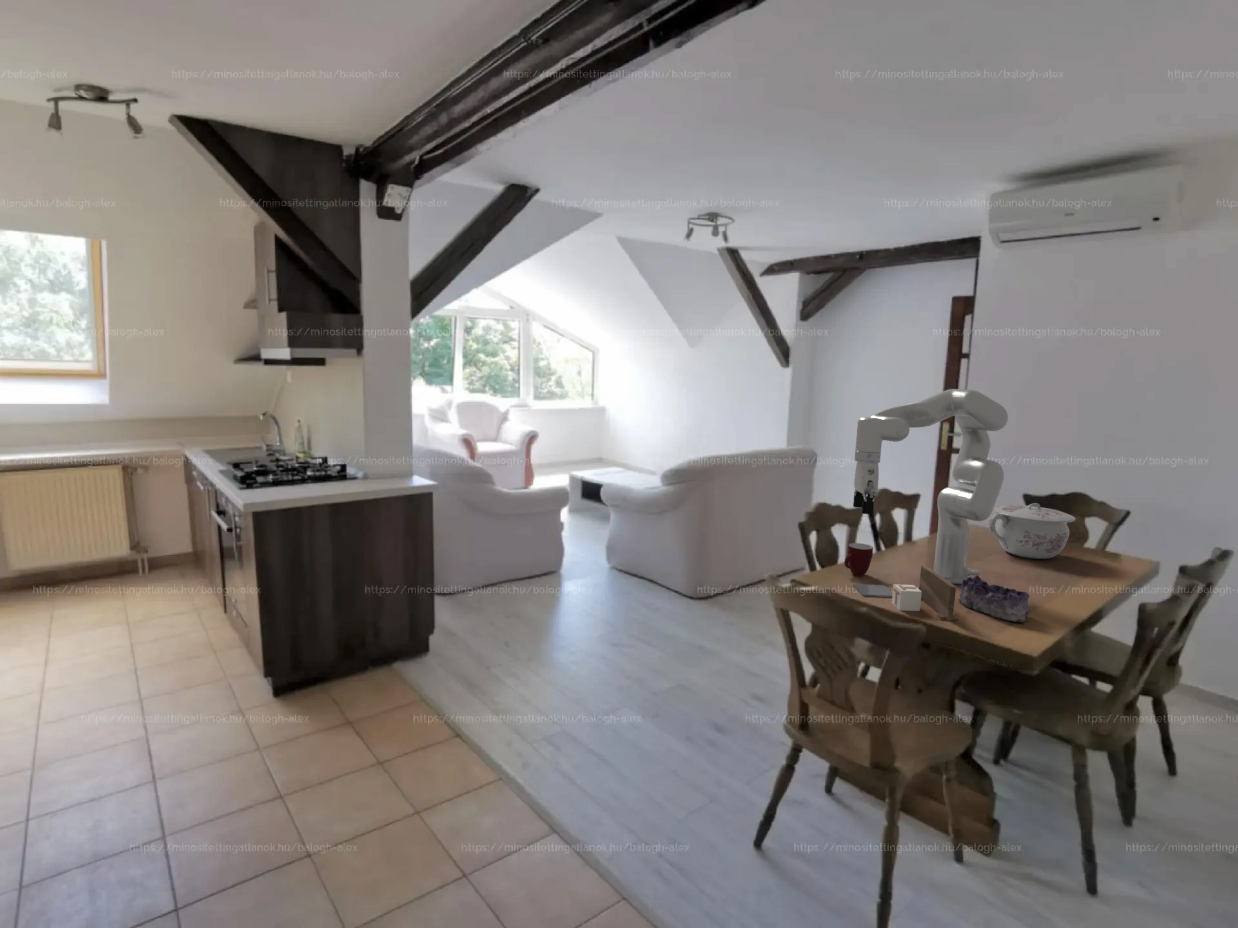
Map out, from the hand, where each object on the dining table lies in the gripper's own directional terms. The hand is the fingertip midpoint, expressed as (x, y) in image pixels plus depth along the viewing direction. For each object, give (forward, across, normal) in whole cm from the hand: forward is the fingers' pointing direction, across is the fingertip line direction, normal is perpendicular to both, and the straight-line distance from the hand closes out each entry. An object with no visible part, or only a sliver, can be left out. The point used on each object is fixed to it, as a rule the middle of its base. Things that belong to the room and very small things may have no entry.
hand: (862, 510), depth 212 cm
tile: (+26, -2, -5) cm, 26 cm away
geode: (+26, -15, -36) cm, 47 cm away
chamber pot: (+26, +54, -81) cm, 101 cm away
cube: (+26, -15, -11) cm, 32 cm away
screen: (+26, -14, -19) cm, 35 cm away
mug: (+26, +15, -4) cm, 30 cm away
